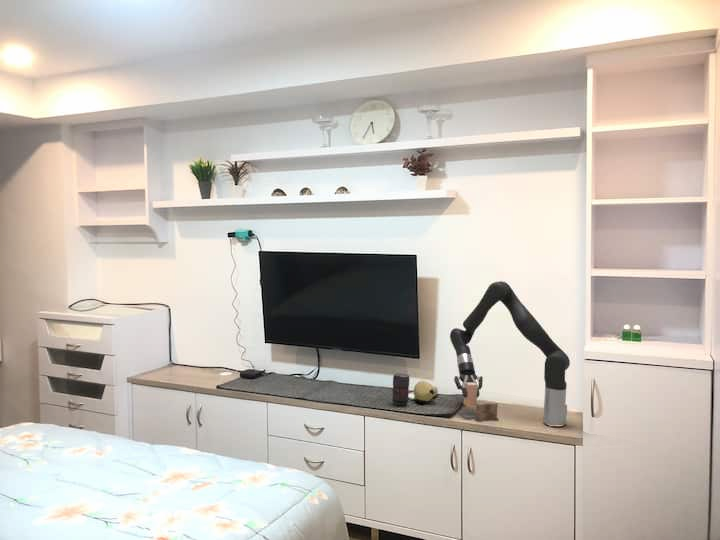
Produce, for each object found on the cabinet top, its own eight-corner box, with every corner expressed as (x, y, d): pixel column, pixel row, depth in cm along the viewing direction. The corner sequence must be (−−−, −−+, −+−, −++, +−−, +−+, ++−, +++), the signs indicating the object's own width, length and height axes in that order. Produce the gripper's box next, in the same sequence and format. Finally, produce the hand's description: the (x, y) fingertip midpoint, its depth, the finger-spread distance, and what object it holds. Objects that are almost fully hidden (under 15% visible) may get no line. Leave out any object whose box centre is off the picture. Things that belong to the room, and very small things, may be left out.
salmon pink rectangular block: (471, 402, 281) (473, 382, 281) (476, 405, 277) (477, 384, 276) (463, 403, 280) (464, 382, 279) (467, 406, 276) (468, 385, 275)
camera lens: (403, 408, 287) (405, 378, 286) (389, 405, 292) (390, 375, 290) (411, 404, 294) (412, 374, 293) (396, 401, 298) (397, 372, 297)
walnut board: (493, 417, 278) (494, 401, 278) (498, 420, 274) (499, 404, 273) (474, 418, 275) (475, 403, 275) (478, 421, 271) (479, 405, 271)
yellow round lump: (432, 406, 292) (433, 385, 291) (410, 402, 297) (410, 381, 297) (439, 401, 300) (440, 381, 299) (417, 397, 306) (418, 377, 305)
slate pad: (473, 413, 284) (473, 411, 284) (481, 418, 276) (481, 416, 276) (458, 414, 282) (458, 412, 281) (465, 419, 274) (465, 417, 274)
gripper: (453, 360, 284) (458, 392, 273) (482, 361, 285) (488, 393, 274) (449, 368, 289) (454, 400, 278) (478, 369, 291) (484, 400, 280)
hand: (471, 396), depth 276 cm, fingers closed on salmon pink rectangular block, 5 cm apart
